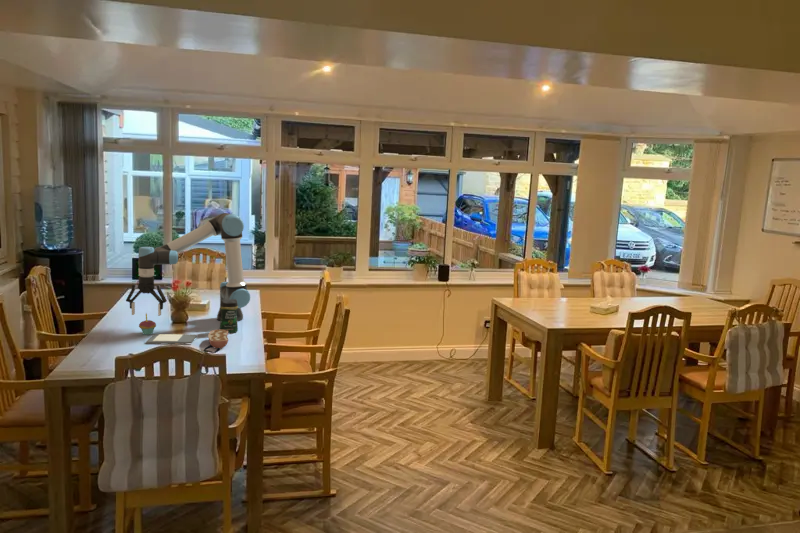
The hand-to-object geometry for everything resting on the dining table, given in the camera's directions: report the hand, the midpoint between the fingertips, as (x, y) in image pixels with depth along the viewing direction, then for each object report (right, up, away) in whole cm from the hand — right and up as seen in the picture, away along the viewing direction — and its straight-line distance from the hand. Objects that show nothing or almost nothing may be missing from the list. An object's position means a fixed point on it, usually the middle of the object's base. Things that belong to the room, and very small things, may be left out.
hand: (146, 314), depth 315 cm
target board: (+17, -13, -9) cm, 23 cm away
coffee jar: (+41, -11, +12) cm, 44 cm away
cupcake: (0, -10, +2) cm, 11 cm away
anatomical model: (+42, -15, -12) cm, 46 cm away
